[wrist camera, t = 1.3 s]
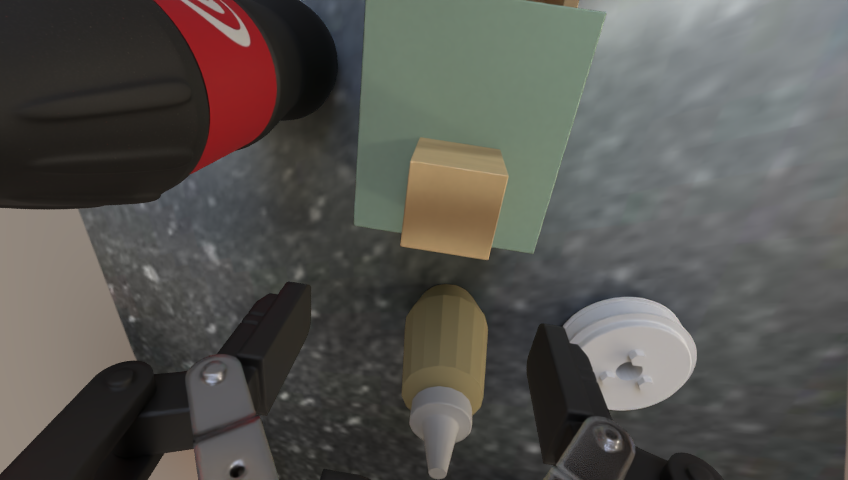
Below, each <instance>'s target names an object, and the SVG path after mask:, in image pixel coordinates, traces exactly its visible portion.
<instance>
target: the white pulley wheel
mask: <svg viewBox="0 0 848 480" xmlns="http://www.w3.org/2000/svg"><path fill="white" fill-rule="evenodd" d="M563 327H564V328H565V331H566V334H567V336H568V339H569V342H570V343H572V344H578V345H579V347H580V348H581V349H582V350H583V351H584V352H585V354H586V355H587V356H588V358H589V360H590V363H591V366H592V368H593V372H594V373H595V376H596V379H597V382H598V384H599V387H600V389H601V392H602V394H603V397H604V400H605V402H606V405H607V408H608V409H610V410H634V409H640V408H645V407H648V406H651V405H654V404H656V403H659V402H661V401H663V400H664V399H666V398H668V397H669V396H671V395H672V394H674V393H675V392H676V391H677V390H678V389H679V388H680V387H681V386H682V385H683V384H684V383H685V382H686V381H687V380H688V378H689V377H690V375H691V374H692V372H693V370H694V367H695V364H696V359H697V351H696V346H695V343H694V341H693V339H692V337H691V336H690V334H689V333H688V332H687V331H686V330H685V328H684V327H682V325H681V323H680V321H679V320H678V318H677V317H676V316H675V315H674V313H673V312H671V311H670V310H669V309H668V308H667V307H665V306H663V305H661V304H660V303H657V302H654V301H652V300H648V299H644V298H638V297H618V298H611V299H606V300H602V301H599V302H596V303H594V304H591V305H589V306H587V307H585V308H583V309H582V310H580V311H578V312H577V313H576V314H574V315H573V316H572V317H571V318H570V319H569V320H568V321H567V322H566V323H565V324H564V325H563Z"/></svg>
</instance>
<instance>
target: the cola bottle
mask: <svg viewBox="0 0 848 480" xmlns="http://www.w3.org/2000/svg"><path fill="white" fill-rule="evenodd" d="M337 69H338V60H337V52H336V48H335V44H334V41H333V39H332V37H331V34H330V32H329V31H328V29H327V27H326V26H325V24H324V23H323V21H322V20H321V19H320V18H319V17H318V16H317V14H316V13H315V12H313V11H312V10H311V9H310V8H309V7H308V6H306V5H305V4H303V3H302V2H300V1H299V0H0V208H16V209H75V208H76V209H78V208H93V207H100V206H104V205H122V204H137V203H146V202H151V201H155V200H157V199H159V198H160V196H161V194H162V193H163V192H165V191H167V190H169V189H171V188H173V187H174V186H176V185H178V184H179V183H181V182H182V181H183V180H184V179H185V178H187V177H188V176H189V175H190V174H192V173H194V172H196V171H198V170H199V169H201V168H203V167H205V166H207V165H209V164H211V163H213V162H215V161H217V160H218V159H220V158H222V157H224V156H226V155H228V154H230V153H232V152H234V151H236V150H240V149H243V148H246V147H248V146H250V145H252V144H254V143H256V142H257V141H259V140H260V139H262V138H263V137H264V136H266V135H267V134H268V133H269V132H270V131H271V130H272V129H273V128H274V127H275V126H276V125H277V124H278V123H279V121H280V120H281V121H286V120H294V119H299V118H302V117H304V116H307V115H309V114H311V113H312V112H314V111H315V110H316V109H318V108H319V107H320V106H321V105H322V104H323V103H324V102H325V100H326V99H327V98H328V96H329V95H330V93H331V91H332V89H333V87H334V84H335V81H336V76H337Z"/></svg>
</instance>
